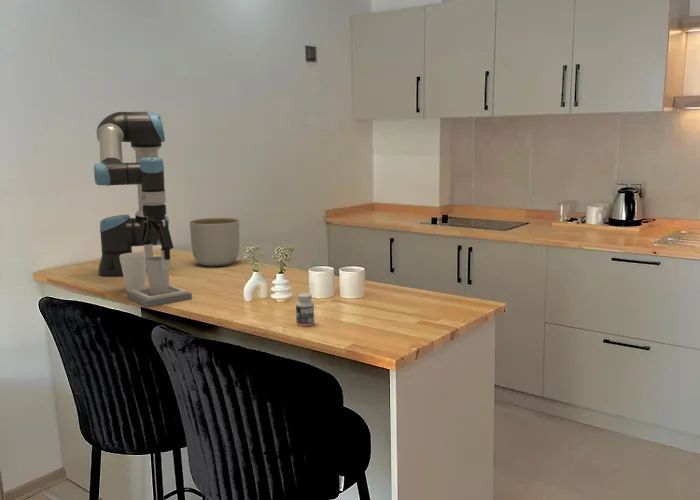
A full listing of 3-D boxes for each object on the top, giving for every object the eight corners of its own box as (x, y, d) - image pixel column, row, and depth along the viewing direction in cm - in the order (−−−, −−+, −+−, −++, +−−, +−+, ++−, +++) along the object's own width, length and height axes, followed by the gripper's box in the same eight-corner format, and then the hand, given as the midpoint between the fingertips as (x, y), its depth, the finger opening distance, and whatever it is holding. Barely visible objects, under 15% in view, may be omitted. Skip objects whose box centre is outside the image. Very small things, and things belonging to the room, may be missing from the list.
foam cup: (151, 290, 235) (149, 255, 233) (125, 294, 231) (122, 258, 228) (145, 285, 243) (143, 251, 241) (119, 289, 239) (117, 254, 237)
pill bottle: (296, 321, 196) (295, 292, 194) (313, 321, 196) (313, 292, 194) (296, 326, 190) (295, 297, 189) (314, 326, 191) (313, 296, 189)
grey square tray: (127, 298, 225) (127, 290, 225) (171, 290, 235) (170, 283, 235) (147, 307, 213) (146, 298, 213) (191, 298, 223) (191, 290, 223)
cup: (164, 296, 219) (162, 261, 217) (142, 295, 221) (140, 260, 219) (175, 290, 227) (173, 256, 225) (154, 289, 229) (152, 256, 227)
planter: (235, 268, 273) (234, 223, 270) (186, 269, 274) (184, 224, 270) (244, 259, 294) (242, 217, 291) (198, 259, 294) (196, 217, 291)
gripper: (128, 201, 225) (132, 261, 229) (159, 208, 207) (163, 273, 211) (149, 200, 230) (152, 259, 234) (181, 206, 212) (184, 270, 216)
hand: (157, 266), depth 222 cm, fingers open, 13 cm apart
